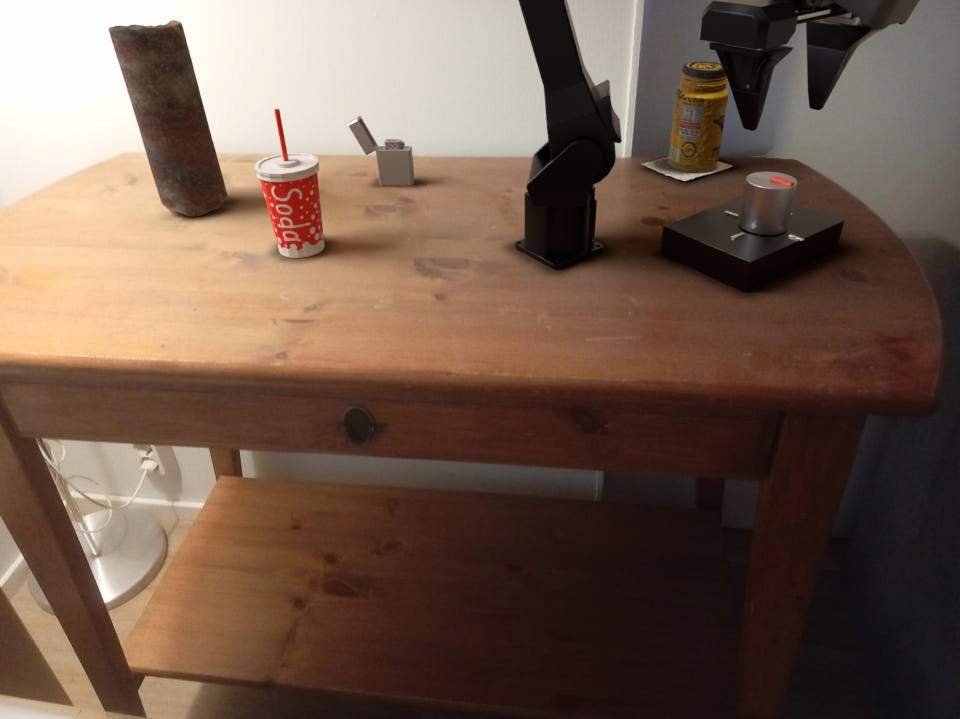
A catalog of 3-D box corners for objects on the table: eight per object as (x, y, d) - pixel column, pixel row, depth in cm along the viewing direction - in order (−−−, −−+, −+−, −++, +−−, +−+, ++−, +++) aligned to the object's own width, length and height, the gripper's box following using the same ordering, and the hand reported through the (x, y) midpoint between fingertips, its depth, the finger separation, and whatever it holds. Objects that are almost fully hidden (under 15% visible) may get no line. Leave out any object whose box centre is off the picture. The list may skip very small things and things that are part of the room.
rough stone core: (147, 213, 85) (91, 26, 74) (190, 191, 91) (144, 13, 80) (201, 221, 83) (150, 28, 72) (241, 198, 88) (200, 16, 77)
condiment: (732, 167, 92) (749, 65, 85) (684, 182, 88) (697, 77, 81) (688, 152, 97) (700, 55, 90) (641, 166, 93) (650, 66, 86)
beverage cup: (259, 257, 75) (229, 116, 67) (292, 232, 79) (267, 99, 72) (312, 264, 73) (287, 121, 65) (342, 239, 77) (322, 102, 70)
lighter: (414, 180, 91) (409, 114, 87) (412, 185, 90) (406, 118, 86) (358, 180, 92) (350, 115, 88) (355, 185, 91) (346, 119, 86)
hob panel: (747, 293, 65) (753, 261, 63) (659, 254, 72) (663, 224, 70) (840, 250, 72) (848, 219, 70) (751, 217, 79) (757, 189, 77)
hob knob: (728, 224, 70) (736, 175, 67) (758, 212, 72) (767, 164, 70) (767, 239, 67) (778, 188, 64) (797, 227, 69) (808, 177, 66)
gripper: (852, -81, 46) (799, 167, 54) (998, -98, 54) (933, 118, 63) (708, -85, 53) (682, 132, 62) (857, -99, 62) (816, 93, 71)
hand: (783, 119), depth 64 cm, fingers open, 9 cm apart
